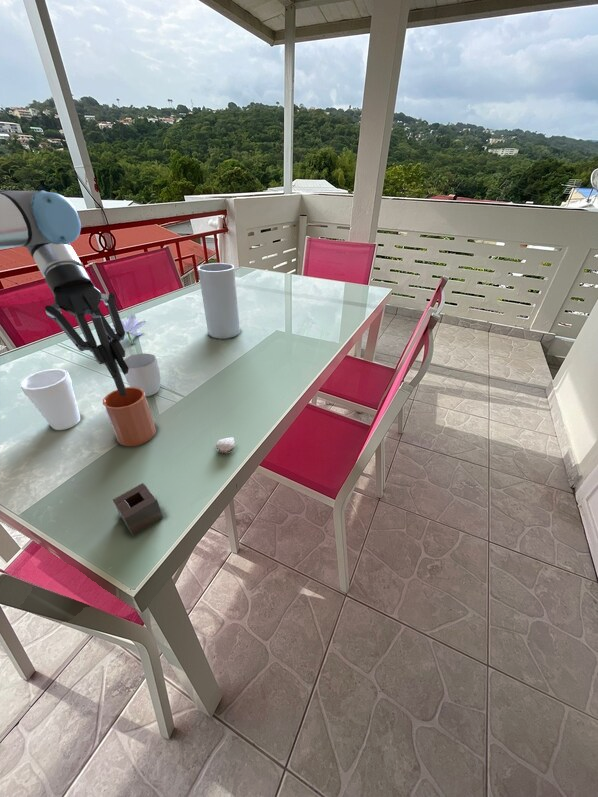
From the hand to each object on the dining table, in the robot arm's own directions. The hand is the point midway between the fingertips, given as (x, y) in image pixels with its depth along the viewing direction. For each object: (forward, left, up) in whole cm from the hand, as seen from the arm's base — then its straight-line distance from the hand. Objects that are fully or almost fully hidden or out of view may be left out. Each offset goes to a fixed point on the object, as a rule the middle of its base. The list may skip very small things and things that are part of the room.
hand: (120, 373), depth 67 cm
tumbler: (-4, +1, -19) cm, 19 cm away
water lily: (-46, +43, -19) cm, 66 cm away
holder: (+14, -17, -19) cm, 29 cm away
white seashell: (+19, +5, -19) cm, 28 cm away
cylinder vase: (-17, +62, -19) cm, 67 cm away
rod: (-4, +2, -7) cm, 8 cm away
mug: (-16, +19, -19) cm, 31 cm away
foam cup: (-24, -2, -19) cm, 30 cm away
